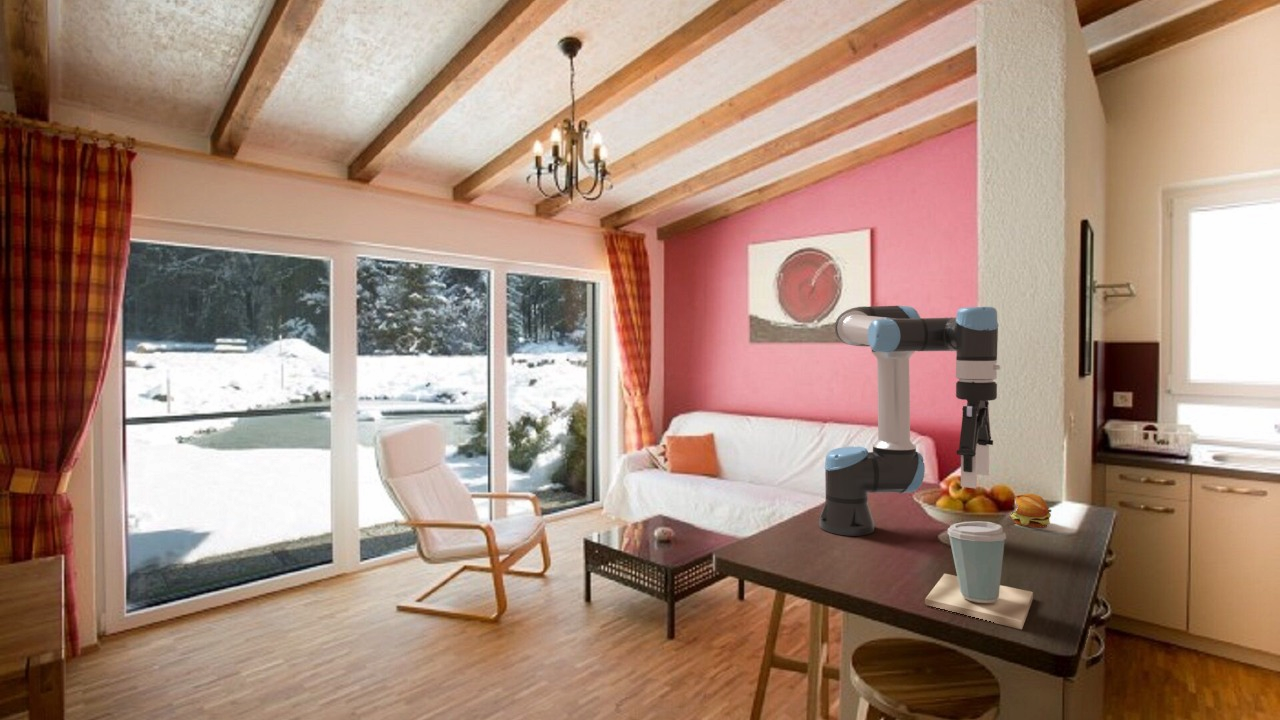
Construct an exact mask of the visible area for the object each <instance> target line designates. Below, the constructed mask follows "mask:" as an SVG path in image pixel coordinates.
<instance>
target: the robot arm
mask: <svg viewBox="0 0 1280 720" xmlns="http://www.w3.org/2000/svg"><path fill="white" fill-rule="evenodd" d="M834 333H835V335H836V336H835V337H837V339H839V341H840V342H842V343H843V344H846V345H850V346H854V347H870V349H871V354H872V355H873V356H875V357H876V359H877V361H876V363H877V370H876V371H877V373H876V374H877V441H876V442H874V443H873V444H872V451H871V452H870V451H868V449H867V448H866V447H863V446H843V447H842V446H841V447H838V448H834V449H832V450H829V451H828V452H827V453H826V456H825V465H824V470H825V472H824V473H825V475H824V476H825V481H824V482H825V502H824V504H823V507H822V511H821V514H820V516H819V527H820V529H821V530H823V531H825V532H827V533H831V534H836V535H839V536H847V537H849V536H853V537H855V536H868V535H870V534H871V535H872V534H873V532H874V531H875V522H874V518H873V516H872V513H871V509H870V506H869V504H868V502H869V501H868V500H869V499H868V496H869V495H868V494H876V493H877V494H879V493H881V494H883V493H884V494H885V493H888V494H889V493H890V494H891V493H893V494H895V493H898V494H904V493H914V492H916V491H918V490H919V488H920V487H921V486H922V484H923V481H924V477H925V472H926V471H925V470H926V469H925V468H926V467H925V463H924V457H923V456H922V454H921V453H920V452H919V451H917V447H916V446H915V444H914V443H912V441H911V406H910V405H911V404H910V402H911V401H910V396H911V395H910V389H911V388H910V387H911V386H910V357H912V356H913V354H915V353H916V352H956V357H955V359H956V360H955V378H956V379H958V380H957V381H956V382H955V396H956V398H957V399H958V400H963V401H967V402H966V405H963V407H962V417H961V418H962V419H961V428H960V434H959V435H960V436H959V446H958V450H956V455H958V456H960V487H962V488H970V489H975V490H976V489H977V484H978V483H977V478H978V477H977V475H980V476H981V475H982V476H989V475H990V446H993V445H994V440H993V439H992V435H991V423H990V414H989V412H990V411H989V406H990V405H989V404H990V403H989V401H995V400H996V399H998V397H997V396H998V383H997V382H996V381H994V380H996V379H997V378H998V377H997V376H998V373H997V371H998V370H999V371H1000V369H1001V365H999V364H997V363H998V341H999V339H998V337H999V323H998V311H997V308H995V307H993V306H968V307H967V306H965V307H960V308H959V309H958V310H957V311H956V317H928V318H926V317H922V318H921V316H920V314H919V313H918V310H916V309H915V308H914V307H912V306H909V305H908V306H907V305H881V306H880V305H879V306H877V305H876V306H857V307H852V308H849V309H847V310H845V311H843V312H841V314H839V315H838V317H837V318H836V320H835V322H834Z"/></svg>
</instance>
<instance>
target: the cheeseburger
mask: <svg viewBox="0 0 1280 720" xmlns="http://www.w3.org/2000/svg"><path fill="white" fill-rule="evenodd" d="M1015 498H1016V502H1017V505H1018V509H1017V511H1016V512H1015V513H1013V514H1012V513H1011V514H1012V515H1011V514H1010V517H1011V521H1012V522H1013V523H1014V524H1016V525H1019V526H1023V527H1028V528H1035V529H1043V528H1047V527H1048V526H1049V525H1050V521H1051V520H1050V519H1051V517H1052V514H1051V513H1052V509H1049V505H1048V504H1047V502H1046V500H1045V499H1044V498H1043V497H1042V496H1040V495H1038V494H1037V493H1036V494H1035V493H1024V494H1018V495H1017V496H1016V497H1015Z"/></svg>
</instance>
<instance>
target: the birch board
mask: <svg viewBox="0 0 1280 720" xmlns="http://www.w3.org/2000/svg"><path fill="white" fill-rule="evenodd" d="M1033 599H1034V592H1033V591H1030V590H1026V589H1021V588H1015V587H1011V586H1007V585H1001V584H1000V589H999V597H998V598H997V601H996V602H994V603H978V602H973V601H969V600H967V599H965V598H964V597H963V596H962V593H961V592H960V587H959V582H958V577H957V575H953V574H949V573H943V575H942V576H941V577H940V579H939V580H938V581H937V583H936V584H935V586H933V588H932V589H931V590H930V592H929V593H928V595H927V596H926V597H925V599H924V605H925V604H926V605H929V606H933V607H936V608H940V609H945V610H948V611H952V612H957V613H960V614H964V615H967V616H966V617H968V616H971V617H970V618H972V617H975V618H974V619H976V618H979V619H978V620H980V619H983V620H982V621H985V620H987V621H986V622H989V621H991V622H990V623H993V622H994V623H993V624H997V625H1001V626H1006V627H1010V628H1013V629H1018V630H1023V627H1024V624H1025V622H1026V619H1027V617H1028V614H1029V610H1030V608H1031V606H1032V603H1033ZM936 608H935V609H936ZM940 609H939V610H940ZM948 611H947V612H948ZM952 612H951V613H952ZM960 614H959V615H960ZM964 615H963V616H964Z"/></svg>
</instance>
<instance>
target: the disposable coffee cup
mask: <svg viewBox="0 0 1280 720" xmlns="http://www.w3.org/2000/svg"><path fill="white" fill-rule="evenodd" d="M947 535H948V538H949V542H950V547H951V552H952V557H953V563H954V567H955V571H956V576H957V577H958V582H959V587H960V592H961V593H962V596H963V597H964V598H965V599H967V600H969V601H973V602H978V603H994V602H996V601H997V598H998V597H999V589H1000V585H1001V578H1002V571H1003V570H1002V569H1003V558H1004V551H1005V550H1004V549H1005V541H1006V540H1007V534H1006V532H1005V531H1004V530H1003V526H1002V525H1001V524H998V523H995V522H990V521H981V520H980V521H979V520H977V521H961V522H957V523H956V522H955V523H953V524H951V525H950V526H949V527H948V528H947Z"/></svg>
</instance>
